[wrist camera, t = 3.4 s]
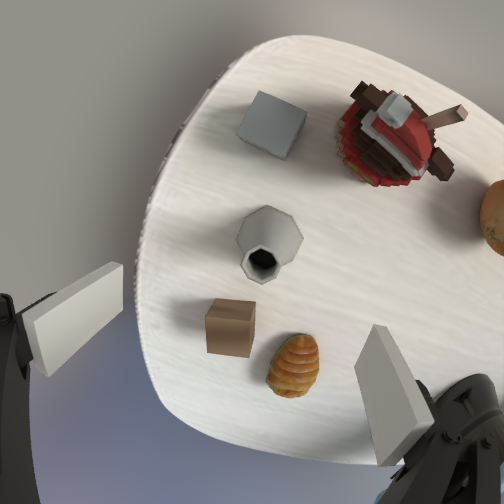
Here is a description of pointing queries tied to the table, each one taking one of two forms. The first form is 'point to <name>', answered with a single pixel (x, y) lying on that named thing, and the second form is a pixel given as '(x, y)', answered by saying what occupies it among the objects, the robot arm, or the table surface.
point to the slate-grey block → (271, 125)
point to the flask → (268, 243)
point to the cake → (392, 138)
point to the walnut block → (230, 327)
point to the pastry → (294, 367)
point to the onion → (493, 217)
